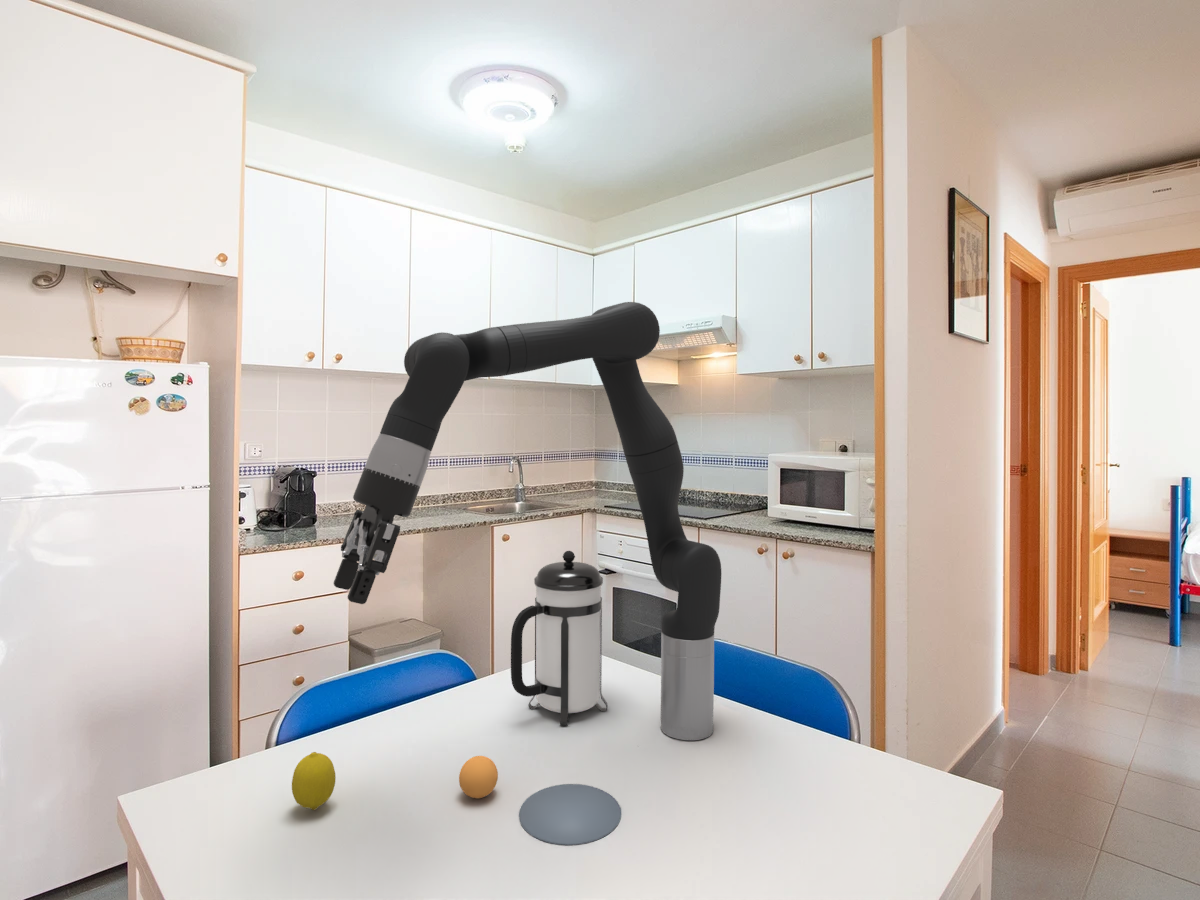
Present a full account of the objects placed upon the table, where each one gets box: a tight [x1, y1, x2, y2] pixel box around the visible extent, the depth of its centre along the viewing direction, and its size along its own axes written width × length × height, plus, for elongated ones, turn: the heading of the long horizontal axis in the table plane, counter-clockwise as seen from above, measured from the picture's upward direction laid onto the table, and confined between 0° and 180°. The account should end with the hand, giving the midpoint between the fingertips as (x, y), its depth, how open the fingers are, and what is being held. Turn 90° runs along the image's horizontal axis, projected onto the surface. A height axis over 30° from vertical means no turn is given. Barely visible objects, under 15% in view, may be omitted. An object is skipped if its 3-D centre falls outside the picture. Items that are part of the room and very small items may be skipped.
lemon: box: [291, 751, 336, 811], centre depth 91 cm, size 6×6×8 cm
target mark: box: [518, 783, 622, 846], centre depth 91 cm, size 14×14×1 cm
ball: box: [458, 755, 499, 799], centre depth 95 cm, size 6×6×6 cm
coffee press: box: [510, 550, 609, 727], centre depth 122 cm, size 17×16×30 cm
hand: (348, 594), depth 84 cm, fingers open, 8 cm apart
